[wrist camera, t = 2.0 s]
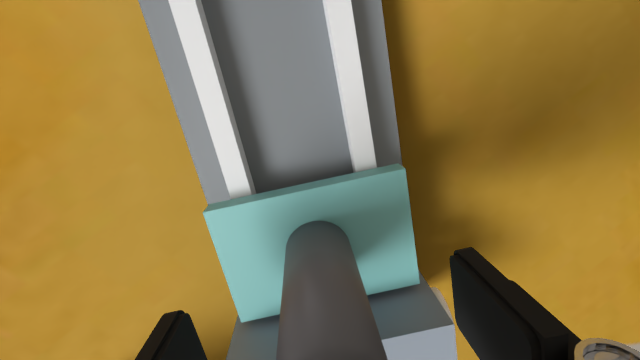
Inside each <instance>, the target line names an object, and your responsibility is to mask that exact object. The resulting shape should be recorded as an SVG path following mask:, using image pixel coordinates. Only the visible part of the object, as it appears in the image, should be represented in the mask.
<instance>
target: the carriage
mask: <svg viewBox="0 0 640 360" xmlns="http://www.w3.org/2000/svg"><path fill="white" fill-rule="evenodd" d="M203 215H204V218H205V220H206V223H207V226H208V229H209V232H210V235H211V238H212V240H213V243H214V246H215V249H216V252H217V255H218V258H219V260H220V263H221V266H222V269H223V272H224V275H225V278H226V280H227V283H228V286H229V289H230V292H231V295H232V298H233V300H234V303H235V306H236V309H237V312H238V315H239V318H240V320H241V323H242V322H246V321H251V320H255V319H260V318H265V317H269V316H274V315H278V314H280V320H279V332H278V343H277V354H276V360H388V359H387V356H386V353H385V350H384V346H383V343H382V340H381V337H380V334H379V331H378V328H377V325H376V322H375V319H374V316H373V313H372V310H371V306H370V303H369V300H368V297H367V295H370V294H375V293H380V292H384V291H389V290H393V289H398V288H403V287H407V286H412V285H416V284H420V280H419V272H418V264H417V256H416V248H415V241H414V233H413V225H412V217H411V209H410V201H409V193H408V185H407V177H406V169H405V168H404V167H403V166H401V165H400V164H399V163H397V164H392V165H388V166H383V167H378V168H374V169H369V170H365V171H360V172H355V173H351V174H346V175H341V176H337V177H332V178H328V179H323V180H318V181H314V182H309V183H305V184H300V185H295V186H291V187H286V188H281V189H277V190H272V191H268V192H263V193H258V194H254V195H249V196H245V197H240V198H235V199H231V200H226V201H221V202H217V203H212V204H209V205H208V206H207V208H206V209H205V210H204V212H203Z"/></svg>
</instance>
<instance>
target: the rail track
mask: <svg viewBox="0 0 640 360" xmlns="http://www.w3.org/2000/svg"><path fill="white" fill-rule="evenodd" d="M138 1H139V4H140V7H141V10H142V13H143V16H144V19H145V22H146V25H147V28H148V30H149V33H150V36H151V39H152V42H153V45H154V48H155V51H156V54H157V57H158V60H159V63H160V66H161V69H162V71H163V74H164V77H165V80H166V83H167V86H168V89H169V92H170V95H171V98H172V101H173V104H174V107H175V110H176V112H177V115H178V118H179V121H180V124H181V127H182V130H183V133H184V136H185V139H186V142H187V145H188V148H189V151H190V153H191V156H192V159H193V162H194V165H195V168H196V171H197V174H198V177H199V180H200V183H201V186H202V189H203V192H204V194H205V197H206V200H207V203H208V205H209V204H212V203H217V202H221V201H226V200H231V199H235V198H240V197H245V196H249V195H254V194H258V193H263V192H268V191H272V190H277V189H281V188H286V187H291V186H295V185H300V184H305V183H309V182H314V181H318V180H323V179H328V178H332V177H337V176H341V175H346V174H351V173H355V172H360V171H365V170H369V169H374V168H378V167H383V166H388V165H392V164H397V163H399V164H400V165H401V166H402V158H401V150H400V142H399V135H398V127H397V119H396V111H395V104H394V96H393V88H392V80H391V72H390V65H389V57H388V49H387V41H386V33H385V26H384V18H383V10H382V2H381V0H138ZM418 272H419V280H420V284H416V285H412V286H407V287H403V288H398V289H393V290H389V291H384V292H380V293H375V294H370V295H367V297H368V300H369V303H370V306H371V310H372V313H373V316H374V319H375V322H376V325H377V328H378V331H379V334H380V337H381V340H382V343H383V346H384V350H385V353H386V356H387V359H388V360H457V350H456V339H455V338H456V335H455V327H454V323H453V319H452V316H451V313H450V310H449V308H448V305H447V303H446V301H445V299H444V297H443V295H442V294H441V292H440V291H439V290H438V289H437V288H436V287H432V288H430V287H429V285H428V284H427V282H426V281H425V279H424V277H423V276H422V274H421V273H420V271H419V270H418ZM279 320H280V314H278V315H274V316H269V317H265V318H260V319H255V320H251V321H246V322H242V323H241V320H240V318H239V315H238V317H237V321H236V324H235V328H234V332H233V335H232V339H231V343H230V346H229V350H228V354H227V357H226V360H276V354H277V343H278V332H279Z"/></svg>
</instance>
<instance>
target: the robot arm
mask: <svg viewBox="0 0 640 360" xmlns="http://www.w3.org/2000/svg"><path fill="white" fill-rule="evenodd" d="M450 268H451V278H452V289H453V299H454V309H455V319H456V323H457V325H458V327H459V329H460V331H461V332H462V334H463V335H464V337H465V338H466V340H467V341H468V343H469V344H470V346H471V347H472V349H473V350H474V352H475V353H476V355H477V356H478V357H479V359H480V360H640V352H638V351H637V350H635V349H633V348H631V347H629V346H627V345H625V344H622V343H619V342H616V341H613V340H608V339H602V338H588V339H585V340H580V339H579V338H578V337H577V336H576V335H575V334H574V333H572V332H571V331H570V330H569V329H568V328H567V327H566V326H565V325H563V324H562V323H561V322H560V321H559V320H558V319H557V318H555V317H554V316H553V315H552V314H551V313H550V312H549V311H547V310H546V309H545V308H544V307H543V306H542V305H541V304H539V303H538V302H537V301H536V300H535V299H534V298H533V297H531V296H530V295H529V294H528V293H527V292H526V291H525V290H523V289H522V288H521V287H520V286H519V285H518V284H517V283H515V282H514V281H511V280H508V279H507V278H506V277H505V276H504V275H503V274H502V273H500V272H499V271H498V270H497V269H496V268H495V267H494V266H493V265H492V264H490V263H489V262H488V261H487V260H486V259H485V258H484V257H483V256H481V255H480V254H479V253H478V252H477V251H476V250H475V249H474V248H472V247H469V248H464V249H460V250H455V251H454V255H453V256H450ZM135 360H207V358H206V355H205V352H204V350H203V347H202V345H201V342H200V340H199V337H198V335H197V332H196V330H195V327H194V325H193V322H192V320H191V317H190V315H189V314H188V313H184V311H182V310H179V311H174V312H170V313H165V314H164V315H163V316H162V317H161V319H160V320H159V322H158V323H157V325H156V327H155V328H154V330H153V331H152V333H151V335H150V336H149V338H148V339H147V341H146V343H145V344H144V346H143V347H142V349H141V351H140V352H139V354H138V355H137V357H136V358H135Z"/></svg>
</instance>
